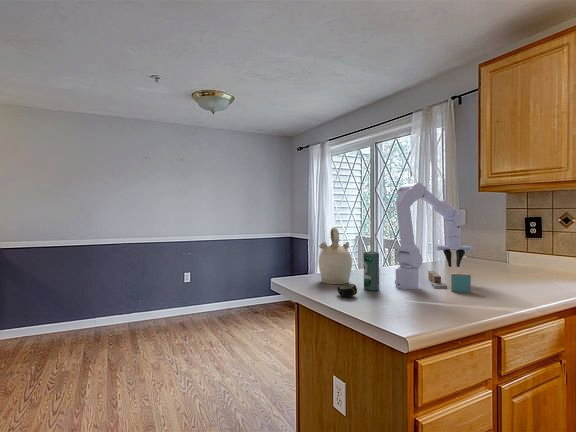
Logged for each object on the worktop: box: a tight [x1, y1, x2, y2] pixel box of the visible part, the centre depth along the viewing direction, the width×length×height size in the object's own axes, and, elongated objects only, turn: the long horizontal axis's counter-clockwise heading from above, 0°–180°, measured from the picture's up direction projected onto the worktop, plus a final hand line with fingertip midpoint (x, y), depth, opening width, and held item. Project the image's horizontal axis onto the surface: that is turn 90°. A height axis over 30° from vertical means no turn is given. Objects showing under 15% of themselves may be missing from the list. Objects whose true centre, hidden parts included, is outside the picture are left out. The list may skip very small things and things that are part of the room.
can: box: [362, 251, 380, 292], centre depth 142 cm, size 6×6×15 cm
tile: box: [449, 272, 472, 293], centre depth 136 cm, size 7×3×7 cm, turn 72°
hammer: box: [427, 270, 448, 290], centre depth 151 cm, size 19×5×4 cm, turn 168°
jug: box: [318, 226, 353, 285], centre depth 157 cm, size 15×16×25 cm
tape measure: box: [337, 283, 358, 298], centre depth 130 cm, size 7×7×4 cm
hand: (453, 266), depth 153 cm, fingers open, 3 cm apart
